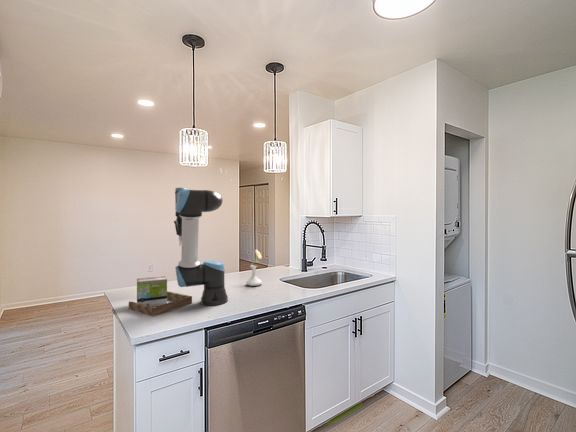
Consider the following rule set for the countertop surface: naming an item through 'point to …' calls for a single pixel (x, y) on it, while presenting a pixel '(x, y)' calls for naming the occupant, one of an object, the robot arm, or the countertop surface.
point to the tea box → (152, 291)
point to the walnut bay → (153, 311)
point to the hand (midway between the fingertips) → (181, 245)
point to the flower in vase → (254, 280)
